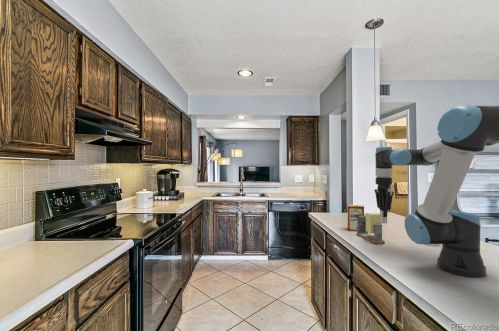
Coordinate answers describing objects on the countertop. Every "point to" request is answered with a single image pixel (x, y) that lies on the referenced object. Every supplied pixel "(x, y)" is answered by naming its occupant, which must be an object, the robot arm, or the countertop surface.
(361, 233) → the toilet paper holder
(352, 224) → the baking soda box
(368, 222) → the pale yellow block
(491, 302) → the countertop surface
